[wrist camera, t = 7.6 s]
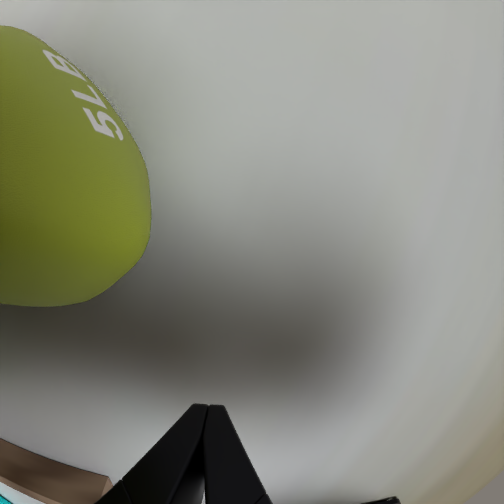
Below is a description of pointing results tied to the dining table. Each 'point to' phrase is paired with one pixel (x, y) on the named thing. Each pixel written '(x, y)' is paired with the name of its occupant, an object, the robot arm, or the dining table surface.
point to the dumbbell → (63, 181)
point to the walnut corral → (49, 478)
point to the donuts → (3, 501)
